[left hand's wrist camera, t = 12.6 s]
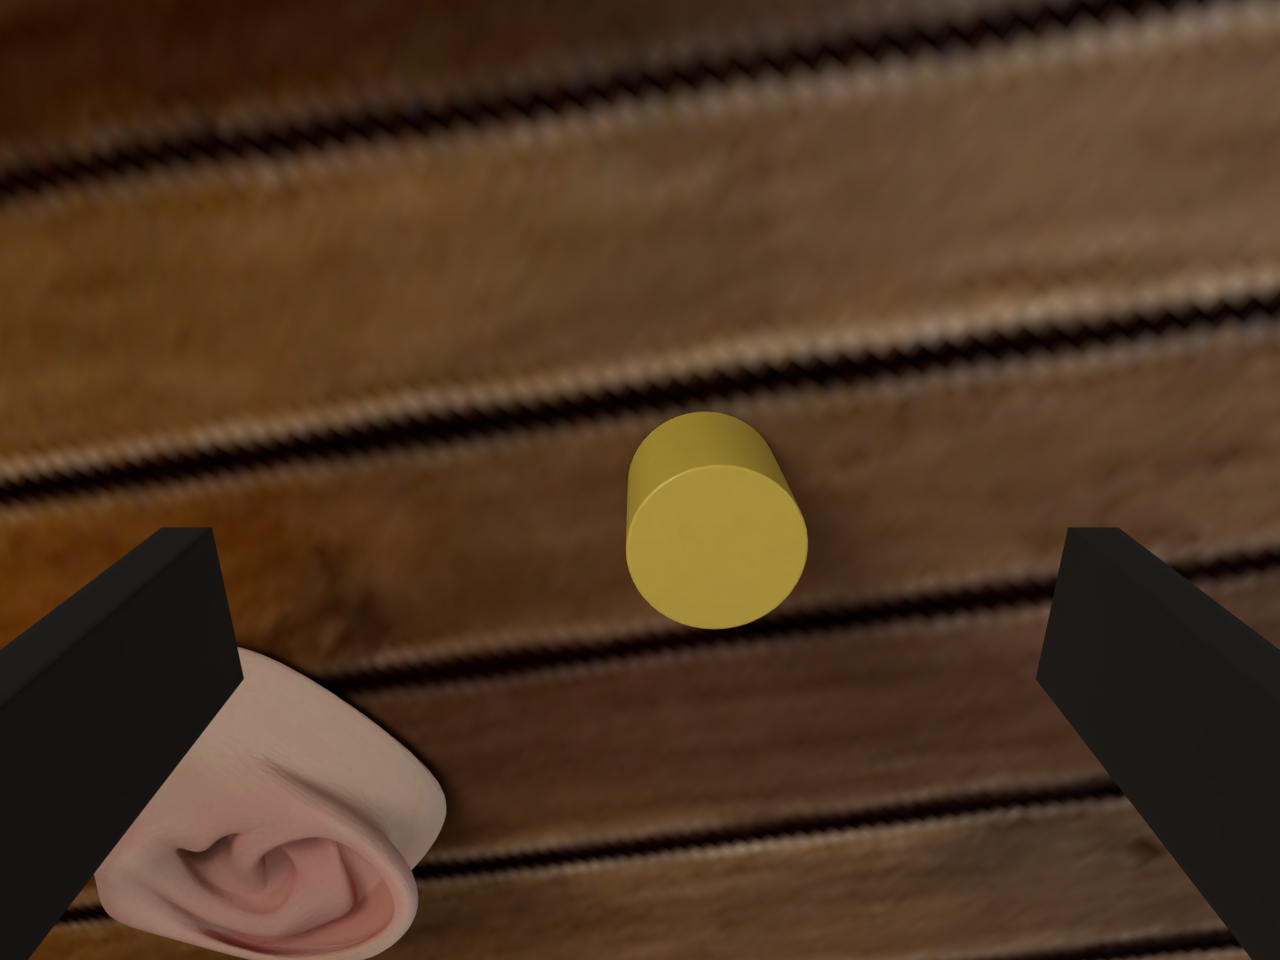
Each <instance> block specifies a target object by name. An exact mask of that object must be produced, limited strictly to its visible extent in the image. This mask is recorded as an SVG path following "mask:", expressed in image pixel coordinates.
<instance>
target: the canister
mask: <svg viewBox="0 0 1280 960" xmlns="http://www.w3.org/2000/svg"><path fill="white" fill-rule="evenodd" d="M807 552H808V536H807V528H806V525H805V521H804V518H803V516H802V513H801V511H800V509H799V507H798V505H797V503H796V501H795V499H794V497H793V495H792V493H791V490H790V488H789V486H788V484H787V482H786V480H785V478H784V476H783V474H782V472H781V470H780V468H779V466H778V464H777V462H776V460H775V458H774V455H773V453H772V451H771V449H770V448H769V446H768V444H767V443H766V441H765V440H764V439H763V438H762V436H761V435H760V434H759V433H758V432H757V431H756V430H754V429H753V428H752V427H751V426H749V425H748V424H746V423H745V422H743V421H741V420H739V419H737V418H735V417H732V416H729V415H726V414H722V413H717V412H694V413H689V414H684V415H681V416H678V417H675V418H673V419H671V420H669V421H666V422H665V423H663V424H662V425H660V426H659V427H657V428H656V429H655V430H654V431H652V432H651V433H650V434H649V435H648V436H647V437H646V438H645V439H644V441H643V442H642V443H641V445H640V446H639V448H638V449H637V451H636V453H635V455H634V457H633V460H632V463H631V465H630V470H629V475H628V496H627V530H626V557H627V564H628V568H629V572H630V574H631V577H632V580H633V582H634V584H635V585H636V587H637V589H638V591H639V592H640V593H641V595H642V596H643V597H644V599H645V600H646V601H647V602H648V603H649V604H650V605H651V606H652V607H654V608H655V609H656V610H658V611H659V612H660V613H662V614H663V615H665V616H667V617H668V618H670V619H672V620H674V621H677V622H679V623H681V624H685V625H688V626H691V627H697V628H703V629H725V628H731V627H737V626H740V625H744V624H747V623H750V622H752V621H754V620H757V619H759V618H761V617H762V616H764V615H766V614H768V613H769V612H770V611H772V610H773V609H775V608H776V607H777V606H778V605H779V604H780V603H782V602H783V601H784V600H785V599H786V597H787V596H788V595H789V594H790V593H791V591H792V590H793V588H794V587H795V585H796V584H797V582H798V580H799V578H800V576H801V574H802V572H803V569H804V566H805V563H806V558H807Z"/></svg>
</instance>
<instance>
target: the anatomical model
mask: <svg viewBox="0 0 1280 960" xmlns="http://www.w3.org/2000/svg"><path fill="white" fill-rule="evenodd" d="M237 648H238V653H239V657H240V662H241V667H242V671H243V676H244V680H243V681H242V682H241V684H240V685H239V686H238V687H237V689H236V690H235V691H234V693H233V694H232V695H231V697H230V698H229V699H228V700H227V702H226V703H225V704H224V706H223V707H222V708H221V709H220V711H219V712H218V713H217V715H216V716H215V717H214V719H213V720H212V721H211V722H210V724H209V725H208V726H207V728H206V729H205V730H204V732H203V733H202V734H201V735H200V737H199V738H198V739H197V741H196V742H195V743H194V745H193V746H192V747H191V748H190V750H189V751H188V752H187V754H186V755H185V756H184V758H183V759H182V760H181V761H180V763H179V764H178V765H177V767H176V768H175V769H174V771H173V772H172V773H171V774H170V776H169V777H168V778H167V780H166V781H165V782H164V784H163V785H162V786H161V787H160V789H159V790H158V791H157V793H156V794H155V795H154V796H153V798H152V799H151V800H150V802H149V803H148V804H147V806H146V807H145V808H144V809H143V811H142V812H141V813H140V815H139V816H138V817H137V819H136V820H135V821H134V822H133V824H132V825H131V826H130V828H129V829H128V830H127V832H126V833H125V834H124V835H123V837H122V838H121V839H120V841H119V842H118V843H117V845H116V846H115V847H114V848H113V850H112V851H111V852H110V854H109V855H108V856H107V858H106V859H105V860H104V861H103V863H102V864H101V865H100V867H99V868H98V869H97V871H96V872H95V873H94V875H95V879H96V884H97V889H98V894H99V897H100V901H101V904H102V905H103V907H104V909H105V910H106V912H107V913H108V914H109V915H110V916H111V917H113V918H114V919H116V920H117V921H119V922H121V923H123V924H125V925H128V926H130V927H133V928H136V929H140V930H143V931H146V932H149V933H153V934H156V935H160V936H164V937H167V938H171V939H175V940H178V941H182V942H185V943H189V944H193V945H196V946H200V947H204V948H207V949H211V950H214V951H218V952H222V953H225V954H229V955H233V956H237V957H241V958H245V959H249V960H364V959H367V958H370V957H372V956H374V955H377V954H379V953H381V952H383V951H384V950H386V949H387V948H389V947H390V946H392V945H393V944H394V943H395V942H396V941H398V940H399V939H400V938H401V937H402V936H403V935H404V934H405V932H406V931H407V930H408V928H409V927H410V925H411V924H412V922H413V919H414V917H415V915H416V911H417V907H418V891H417V885H416V882H415V879H414V876H413V874H412V871H411V870H412V869H413V868H414V867H415V866H416V865H417V863H418V862H419V861H420V860H421V859H422V858H423V857H424V856H425V854H426V853H427V852H428V850H429V849H430V847H431V846H432V844H433V843H434V842H435V840H436V838H437V836H438V834H439V832H440V831H441V828H442V826H443V823H444V820H445V816H446V800H445V795H444V793H443V791H442V789H441V787H440V784H439V783H438V781H437V780H436V779H435V777H434V776H433V775H432V773H431V772H430V771H429V770H428V769H427V768H426V767H425V766H424V765H423V764H422V763H421V762H420V761H419V760H418V759H417V758H416V757H415V756H414V755H413V754H412V753H411V752H410V751H409V750H408V749H406V748H405V747H404V746H403V745H402V744H401V743H400V742H398V741H397V740H396V739H395V738H393V737H392V736H391V735H390V734H388V733H387V732H386V731H384V730H383V729H382V728H381V727H379V726H378V725H377V724H375V723H374V722H373V721H372V720H370V719H369V718H368V717H366V716H365V715H364V714H362V713H361V712H359V711H358V710H356V709H355V708H353V707H352V706H351V705H349V704H348V703H346V702H345V701H343V700H342V699H340V698H339V697H338V696H336V695H335V694H333V693H332V692H330V691H328V690H327V689H325V688H324V687H322V686H321V685H319V684H317V683H316V682H314V681H313V680H311V679H309V678H308V677H306V676H304V675H302V674H300V673H299V672H297V671H295V670H293V669H291V668H289V667H288V666H286V665H284V664H282V663H280V662H277V661H275V660H273V659H271V658H269V657H266V656H264V655H261V654H259V653H256V652H254V651H251V650H247V649H244V648H240V647H237Z"/></svg>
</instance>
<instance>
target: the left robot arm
mask: <svg viewBox="0 0 1280 960" xmlns="http://www.w3.org/2000/svg"><path fill="white" fill-rule="evenodd" d="M243 680H244V676H243V671H242V667H241V662H240V657H239V653H238V648H237V643H236V638H235V634H234V629H233V624H232V620H231V615H230V610H229V606H228V601H227V596H226V592H225V587H224V582H223V578H222V573H221V568H220V563H219V559H218V554H217V549H216V545H215V540H214V535H213V531H212V528H161V529H159V530H158V531H157V532H155V533H154V534H153V535H151V536H150V537H149V538H147V539H146V540H145V541H143V542H142V543H141V544H140V545H138V546H137V547H136V548H134V549H133V550H132V551H130V552H129V553H128V554H126V555H125V556H124V557H122V558H121V559H120V560H118V561H117V562H116V563H114V564H113V565H112V566H111V567H109V568H108V569H107V570H105V571H104V572H103V573H101V574H100V575H99V576H97V577H96V578H95V579H93V580H92V581H91V582H89V583H88V584H87V585H85V586H84V587H83V588H82V589H80V590H79V591H78V592H76V593H75V594H74V595H72V596H71V597H70V598H68V599H67V600H66V601H64V602H63V603H62V604H60V605H59V606H58V607H56V608H55V609H54V610H53V611H51V612H50V613H49V614H47V615H46V616H45V617H43V618H42V619H41V620H39V621H38V622H37V623H35V624H34V625H33V626H31V627H30V628H29V629H28V630H26V631H25V632H24V633H22V634H21V635H20V636H18V637H17V638H16V639H14V640H13V641H12V642H10V643H9V644H8V645H6V646H5V647H4V648H2V649H1V650H0V960H28V959H29V958H30V956H31V955H32V954H33V952H34V951H35V950H36V948H37V947H38V946H39V945H40V943H41V942H42V941H43V939H44V938H45V937H46V935H47V934H48V933H49V932H50V930H51V929H52V928H53V926H54V925H55V924H56V922H57V921H58V920H59V919H60V917H61V916H62V915H63V913H64V912H65V911H66V909H67V908H68V907H69V906H70V904H71V903H72V902H73V900H74V899H75V898H76V896H77V895H78V894H79V893H80V891H81V890H82V889H83V887H84V886H85V885H86V883H87V882H88V881H89V880H90V878H91V877H92V876H93V874H94V873H95V872H96V871H97V869H98V868H99V867H100V865H101V864H102V863H103V861H104V860H105V859H106V858H107V856H108V855H109V854H110V852H111V851H112V850H113V848H114V847H115V846H116V845H117V843H118V842H119V841H120V839H121V838H122V837H123V835H124V834H125V833H126V832H127V830H128V829H129V828H130V826H131V825H132V824H133V822H134V821H135V820H136V819H137V817H138V816H139V815H140V813H141V812H142V811H143V809H144V808H145V807H146V806H147V804H148V803H149V802H150V800H151V799H152V798H153V796H154V795H155V794H156V793H157V791H158V790H159V789H160V787H161V786H162V785H163V784H164V782H165V781H166V780H167V778H168V777H169V776H170V774H171V773H172V772H173V771H174V769H175V768H176V767H177V765H178V764H179V763H180V761H181V760H182V759H183V758H184V756H185V755H186V754H187V752H188V751H189V750H190V748H191V747H192V746H193V745H194V743H195V742H196V741H197V739H198V738H199V737H200V735H201V734H202V733H203V732H204V730H205V729H206V728H207V726H208V725H209V724H210V722H211V721H212V720H213V719H214V717H215V716H216V715H217V713H218V712H219V711H220V709H221V708H222V707H223V706H224V704H225V703H226V702H227V700H228V699H229V698H230V697H231V695H232V694H233V693H234V691H235V690H236V689H237V687H238V686H239V685H240V684H241V682H242V681H243ZM1036 680H1037V681H1038V682H1039V684H1040V685H1041V686H1042V687H1043V689H1044V690H1045V691H1046V693H1047V694H1048V695H1049V697H1050V698H1051V699H1052V700H1053V702H1054V703H1055V704H1056V706H1057V707H1058V708H1059V709H1060V711H1061V712H1062V713H1063V715H1064V716H1065V717H1066V719H1067V720H1068V721H1069V722H1070V724H1071V725H1072V726H1073V728H1074V729H1075V730H1076V732H1077V733H1078V734H1079V735H1080V737H1081V738H1082V739H1083V741H1084V742H1085V743H1086V745H1087V746H1088V747H1089V748H1090V750H1091V751H1092V752H1093V754H1094V755H1095V756H1096V758H1097V759H1098V760H1099V761H1100V763H1101V764H1102V765H1103V767H1104V768H1105V769H1106V771H1107V772H1108V773H1109V774H1110V776H1111V777H1112V778H1113V780H1114V781H1115V782H1116V784H1117V785H1118V786H1119V787H1120V789H1121V790H1122V791H1123V793H1124V794H1125V795H1126V796H1127V798H1128V799H1129V800H1130V802H1131V803H1132V804H1133V806H1134V807H1135V808H1136V809H1137V811H1138V812H1139V813H1140V815H1141V816H1142V817H1143V819H1144V820H1145V821H1146V822H1147V824H1148V825H1149V826H1150V828H1151V829H1152V830H1153V832H1154V833H1155V834H1156V835H1157V837H1158V838H1159V839H1160V841H1161V842H1162V843H1163V845H1164V846H1165V847H1166V848H1167V850H1168V851H1169V852H1170V854H1171V855H1172V856H1173V858H1174V859H1175V860H1176V861H1177V863H1178V864H1179V865H1180V867H1181V868H1182V869H1183V871H1184V872H1185V873H1186V874H1187V876H1188V877H1189V878H1190V880H1191V881H1192V882H1193V883H1194V885H1195V886H1196V887H1197V889H1198V890H1199V891H1200V893H1201V894H1202V895H1203V896H1204V898H1205V899H1206V900H1207V902H1208V903H1209V904H1210V906H1211V907H1212V908H1213V909H1214V911H1215V912H1216V913H1217V915H1218V916H1219V917H1220V919H1221V920H1222V921H1223V922H1224V924H1225V925H1226V926H1227V928H1228V929H1229V930H1230V932H1231V933H1232V934H1233V935H1234V937H1235V938H1236V939H1237V941H1238V942H1239V943H1240V945H1241V946H1242V947H1243V948H1244V950H1245V951H1246V952H1247V954H1248V955H1249V956H1250V958H1251V959H1252V960H1280V650H1279V649H1278V648H1276V647H1275V646H1274V645H1272V644H1271V643H1270V642H1268V641H1267V640H1266V639H1264V638H1263V637H1262V636H1260V635H1259V634H1258V633H1256V632H1255V631H1254V630H1252V629H1251V628H1250V627H1249V626H1247V625H1246V624H1245V623H1243V622H1242V621H1241V620H1239V619H1238V618H1237V617H1235V616H1234V615H1233V614H1231V613H1230V612H1229V611H1227V610H1226V609H1225V608H1224V607H1222V606H1221V605H1220V604H1218V603H1217V602H1216V601H1214V600H1213V599H1212V598H1210V597H1209V596H1208V595H1206V594H1205V593H1204V592H1202V591H1201V590H1200V589H1198V588H1197V587H1196V586H1195V585H1193V584H1192V583H1191V582H1189V581H1188V580H1187V579H1185V578H1184V577H1183V576H1181V575H1180V574H1179V573H1177V572H1176V571H1175V570H1173V569H1172V568H1171V567H1169V566H1168V565H1167V564H1166V563H1164V562H1163V561H1162V560H1160V559H1159V558H1158V557H1156V556H1155V555H1154V554H1152V553H1151V552H1150V551H1148V550H1147V549H1146V548H1144V547H1143V546H1142V545H1140V544H1139V543H1138V542H1137V541H1135V540H1134V539H1133V538H1131V537H1130V536H1129V535H1127V534H1126V533H1125V532H1123V531H1122V530H1121V529H1119V528H1068V531H1067V535H1066V540H1065V545H1064V549H1063V554H1062V559H1061V563H1060V568H1059V573H1058V578H1057V582H1056V587H1055V592H1054V596H1053V601H1052V606H1051V610H1050V615H1049V620H1048V624H1047V629H1046V634H1045V638H1044V643H1043V648H1042V653H1041V657H1040V662H1039V667H1038V671H1037V676H1036Z"/></svg>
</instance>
